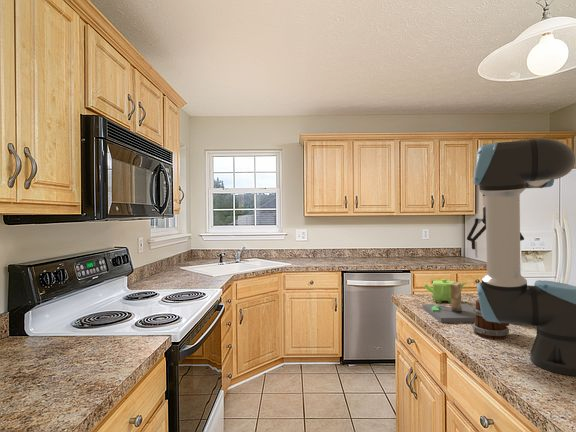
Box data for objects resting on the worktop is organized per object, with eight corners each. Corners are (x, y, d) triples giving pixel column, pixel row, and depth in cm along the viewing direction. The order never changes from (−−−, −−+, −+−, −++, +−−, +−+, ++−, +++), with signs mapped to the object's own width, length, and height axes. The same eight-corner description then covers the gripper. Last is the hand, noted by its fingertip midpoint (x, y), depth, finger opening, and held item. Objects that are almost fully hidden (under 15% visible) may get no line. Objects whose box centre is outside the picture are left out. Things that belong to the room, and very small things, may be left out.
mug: (462, 329, 131) (467, 290, 131) (495, 332, 134) (499, 293, 134) (485, 340, 119) (491, 296, 120) (520, 343, 122) (525, 300, 123)
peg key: (463, 310, 151) (462, 282, 151) (459, 313, 145) (458, 285, 145) (437, 306, 157) (436, 280, 157) (432, 310, 152) (431, 282, 152)
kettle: (468, 302, 170) (467, 280, 170) (446, 306, 165) (446, 283, 165) (443, 296, 184) (443, 275, 184) (423, 300, 178) (422, 278, 178)
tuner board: (492, 322, 140) (491, 315, 140) (441, 323, 141) (440, 316, 141) (466, 307, 161) (466, 301, 161) (422, 308, 163) (422, 302, 163)
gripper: (527, 205, 142) (529, 257, 141) (459, 207, 152) (461, 256, 152) (531, 204, 135) (533, 259, 135) (459, 207, 146) (461, 257, 145)
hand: (495, 257), depth 143 cm, fingers open, 13 cm apart
